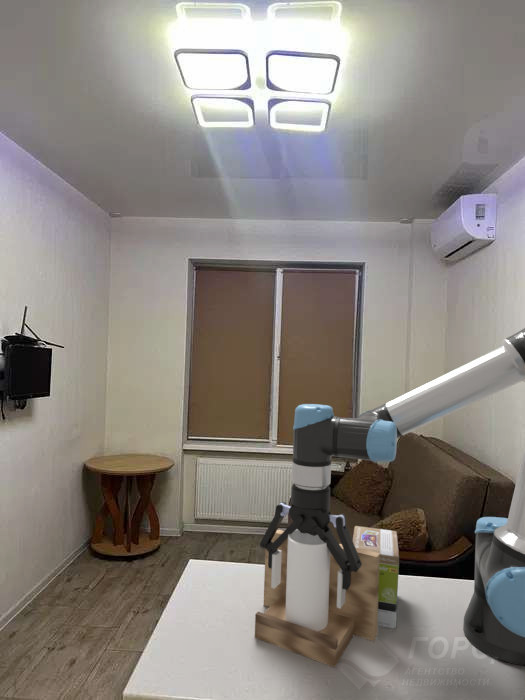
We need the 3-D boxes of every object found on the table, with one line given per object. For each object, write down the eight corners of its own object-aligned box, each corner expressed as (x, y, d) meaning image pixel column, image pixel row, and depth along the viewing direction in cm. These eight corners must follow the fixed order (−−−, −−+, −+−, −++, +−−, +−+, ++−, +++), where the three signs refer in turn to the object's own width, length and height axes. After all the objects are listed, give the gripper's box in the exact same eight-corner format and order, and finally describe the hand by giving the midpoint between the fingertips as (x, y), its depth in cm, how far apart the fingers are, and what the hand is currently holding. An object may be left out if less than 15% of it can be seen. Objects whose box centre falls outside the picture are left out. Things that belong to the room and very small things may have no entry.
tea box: (397, 630, 91) (399, 555, 92) (346, 621, 94) (348, 548, 94) (395, 593, 106) (397, 529, 106) (351, 586, 109) (353, 523, 109)
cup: (330, 612, 92) (333, 531, 92) (324, 636, 84) (327, 547, 84) (290, 605, 94) (292, 526, 94) (280, 627, 86) (283, 541, 86)
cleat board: (377, 636, 89) (379, 553, 90) (357, 675, 78) (360, 580, 78) (267, 601, 101) (270, 527, 101) (236, 631, 89) (239, 548, 90)
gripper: (380, 490, 87) (376, 604, 86) (263, 471, 99) (260, 570, 98) (369, 501, 80) (365, 624, 80) (245, 478, 92) (242, 585, 92)
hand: (307, 594), depth 89 cm, fingers open, 13 cm apart
